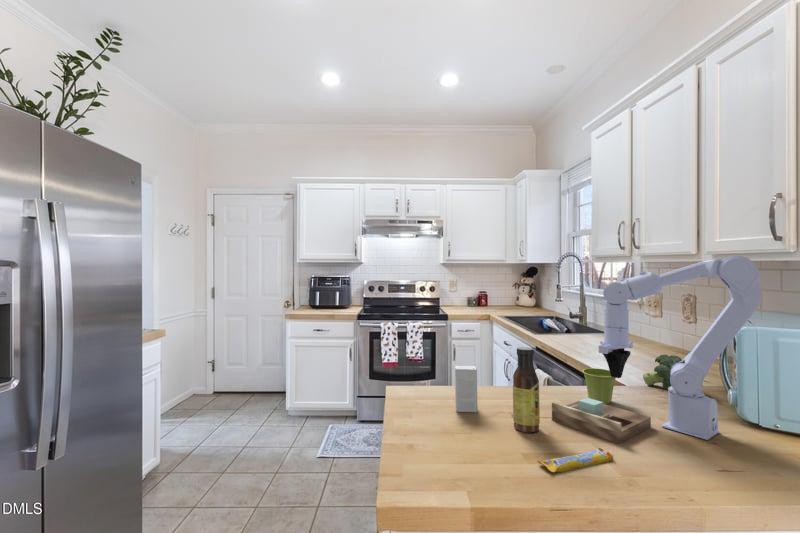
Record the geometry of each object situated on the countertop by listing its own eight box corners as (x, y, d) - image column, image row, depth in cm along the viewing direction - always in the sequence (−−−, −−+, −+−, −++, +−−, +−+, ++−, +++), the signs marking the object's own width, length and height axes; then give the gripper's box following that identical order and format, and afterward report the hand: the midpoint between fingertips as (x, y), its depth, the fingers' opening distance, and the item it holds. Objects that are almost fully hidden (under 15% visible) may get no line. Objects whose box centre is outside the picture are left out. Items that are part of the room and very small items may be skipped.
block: (603, 418, 96) (603, 402, 96) (594, 421, 93) (594, 405, 93) (587, 413, 99) (587, 397, 99) (578, 416, 97) (578, 400, 97)
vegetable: (657, 374, 137) (702, 363, 126) (659, 406, 129) (706, 398, 118) (633, 355, 136) (675, 342, 124) (633, 387, 128) (678, 376, 116)
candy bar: (600, 453, 83) (600, 445, 83) (617, 462, 79) (616, 453, 79) (536, 467, 78) (536, 458, 78) (550, 477, 74) (550, 467, 74)
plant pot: (624, 406, 111) (624, 376, 111) (591, 406, 111) (591, 376, 111) (607, 396, 120) (607, 368, 120) (577, 395, 120) (576, 368, 121)
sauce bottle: (541, 435, 92) (540, 351, 92) (514, 432, 93) (513, 350, 93) (537, 424, 98) (536, 346, 98) (512, 422, 100) (511, 345, 100)
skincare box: (476, 407, 111) (476, 365, 111) (477, 412, 106) (477, 369, 106) (454, 406, 111) (454, 365, 111) (455, 412, 107) (455, 369, 107)
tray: (650, 427, 96) (650, 409, 96) (619, 443, 87) (619, 423, 87) (585, 407, 110) (585, 391, 110) (551, 420, 101) (551, 402, 101)
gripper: (614, 322, 111) (614, 369, 111) (587, 327, 103) (587, 377, 103) (640, 326, 106) (640, 375, 106) (614, 330, 97) (614, 384, 97)
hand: (616, 377), depth 104 cm, fingers closed
